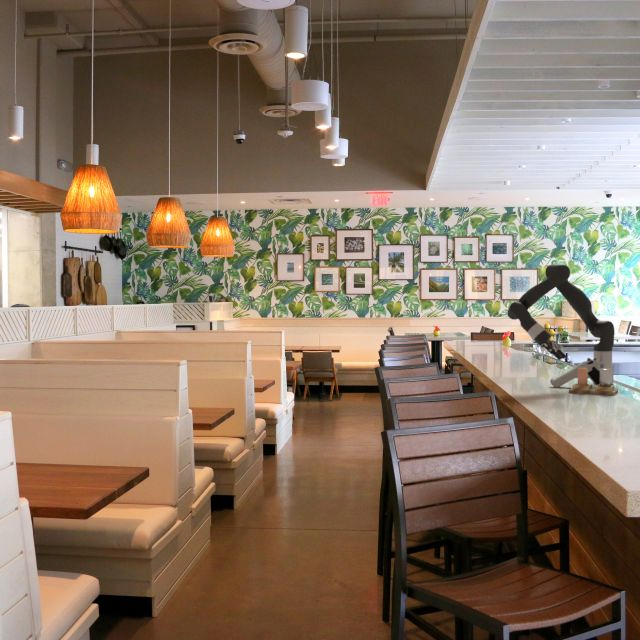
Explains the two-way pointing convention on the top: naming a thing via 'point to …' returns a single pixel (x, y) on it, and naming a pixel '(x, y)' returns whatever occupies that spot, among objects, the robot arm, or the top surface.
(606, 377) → the pin
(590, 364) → the handgun
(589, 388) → the wooden compartment tray
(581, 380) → the pin
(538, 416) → the top surface
